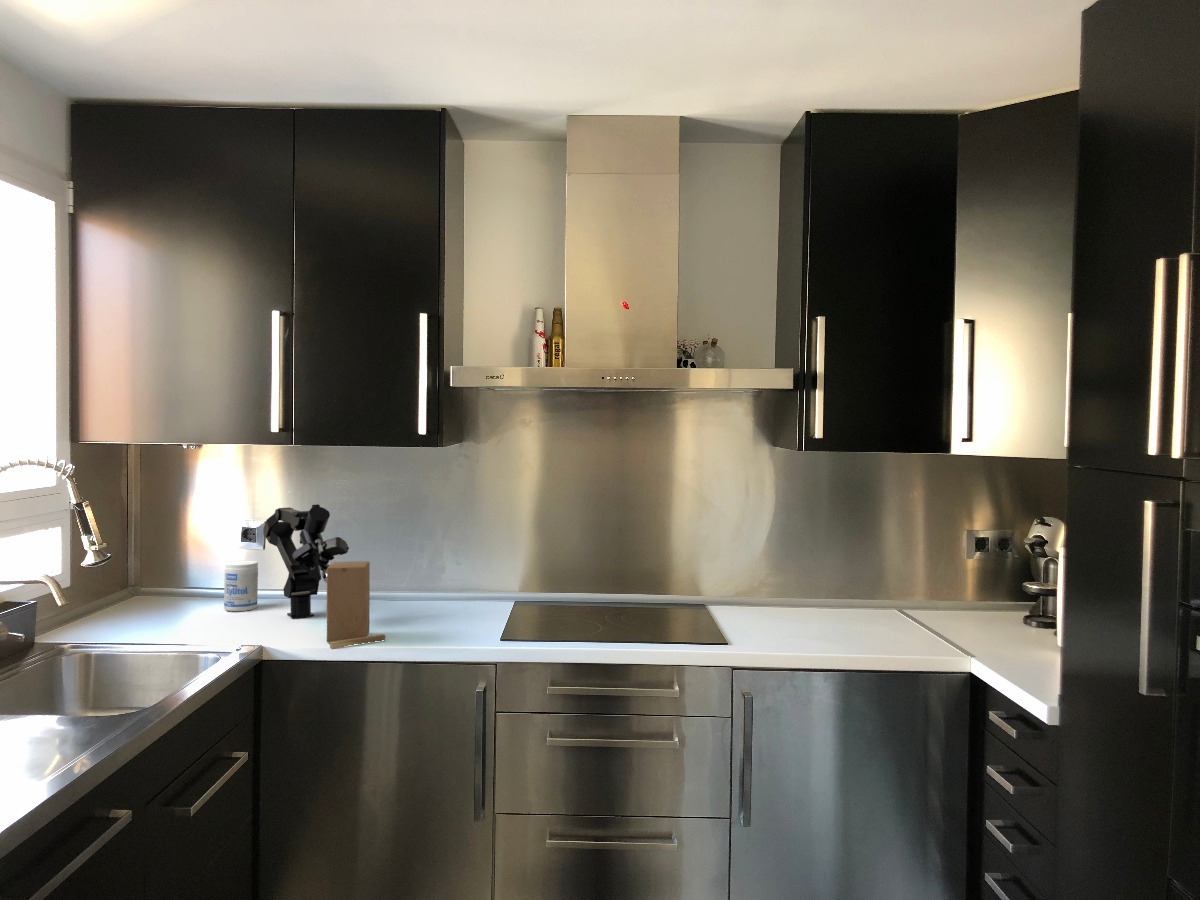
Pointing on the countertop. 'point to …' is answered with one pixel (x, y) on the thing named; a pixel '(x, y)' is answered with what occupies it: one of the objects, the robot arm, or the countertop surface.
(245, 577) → the supplement tub
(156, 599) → the countertop surface
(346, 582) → the wooden block
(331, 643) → the oak batten
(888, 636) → the countertop surface
